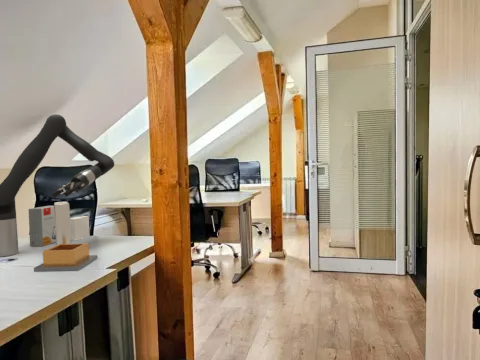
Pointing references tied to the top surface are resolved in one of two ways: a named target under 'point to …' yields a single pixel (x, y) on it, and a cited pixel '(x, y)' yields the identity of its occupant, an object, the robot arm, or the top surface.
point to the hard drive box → (42, 226)
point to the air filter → (62, 223)
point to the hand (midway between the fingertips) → (58, 195)
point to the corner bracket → (79, 227)
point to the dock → (66, 258)
